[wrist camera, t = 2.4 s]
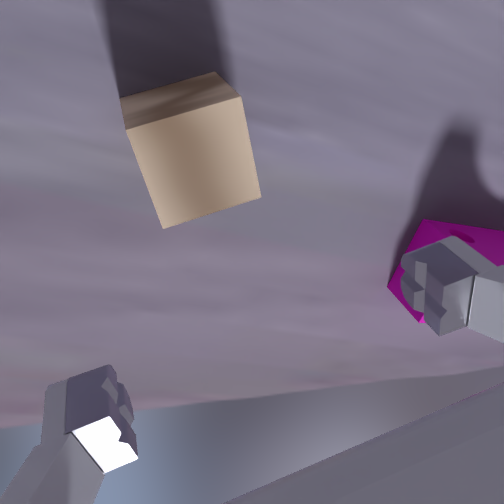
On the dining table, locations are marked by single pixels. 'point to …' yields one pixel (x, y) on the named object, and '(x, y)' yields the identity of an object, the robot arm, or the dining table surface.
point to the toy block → (480, 239)
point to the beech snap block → (192, 147)
